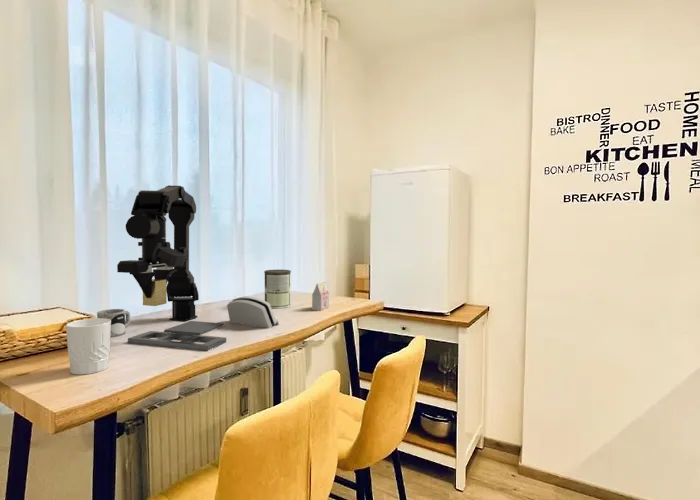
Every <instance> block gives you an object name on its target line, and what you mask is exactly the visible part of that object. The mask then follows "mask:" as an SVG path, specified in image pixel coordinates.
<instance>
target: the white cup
mask: <svg viewBox="0 0 700 500" xmlns="http://www.w3.org/2000/svg"><path fill="white" fill-rule="evenodd" d="M65 331H66V343H67V353H68V354H67V355H68V361H69V371H70V374H73V375H78V376H79V375H91V374H95V373H99V372H102V371H105V370H107V369H108V368H109V366H110V365H109V362H110V361H109V357H110V353H111V351H110V349H111V338H112V337H111V320H110V319H103V318H97V317H96V318H88V319H87V318H86V319H79V320H74V321H70V322H68V323H66V325H65Z"/></svg>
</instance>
